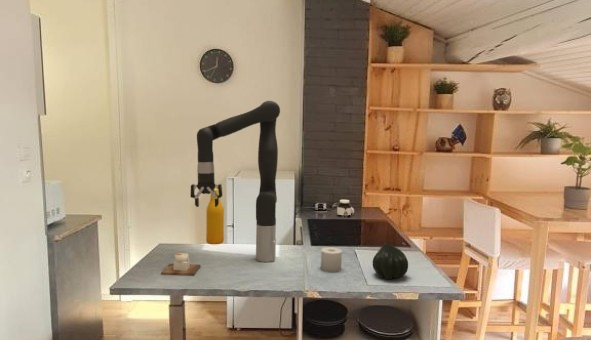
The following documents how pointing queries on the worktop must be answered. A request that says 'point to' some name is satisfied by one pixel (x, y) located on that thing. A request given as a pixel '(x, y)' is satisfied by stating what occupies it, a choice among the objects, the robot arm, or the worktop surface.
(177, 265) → the knob
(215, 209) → the beer bottle
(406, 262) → the squash
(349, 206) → the spread jar
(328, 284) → the worktop surface
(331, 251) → the toilet tissue
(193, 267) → the plate
